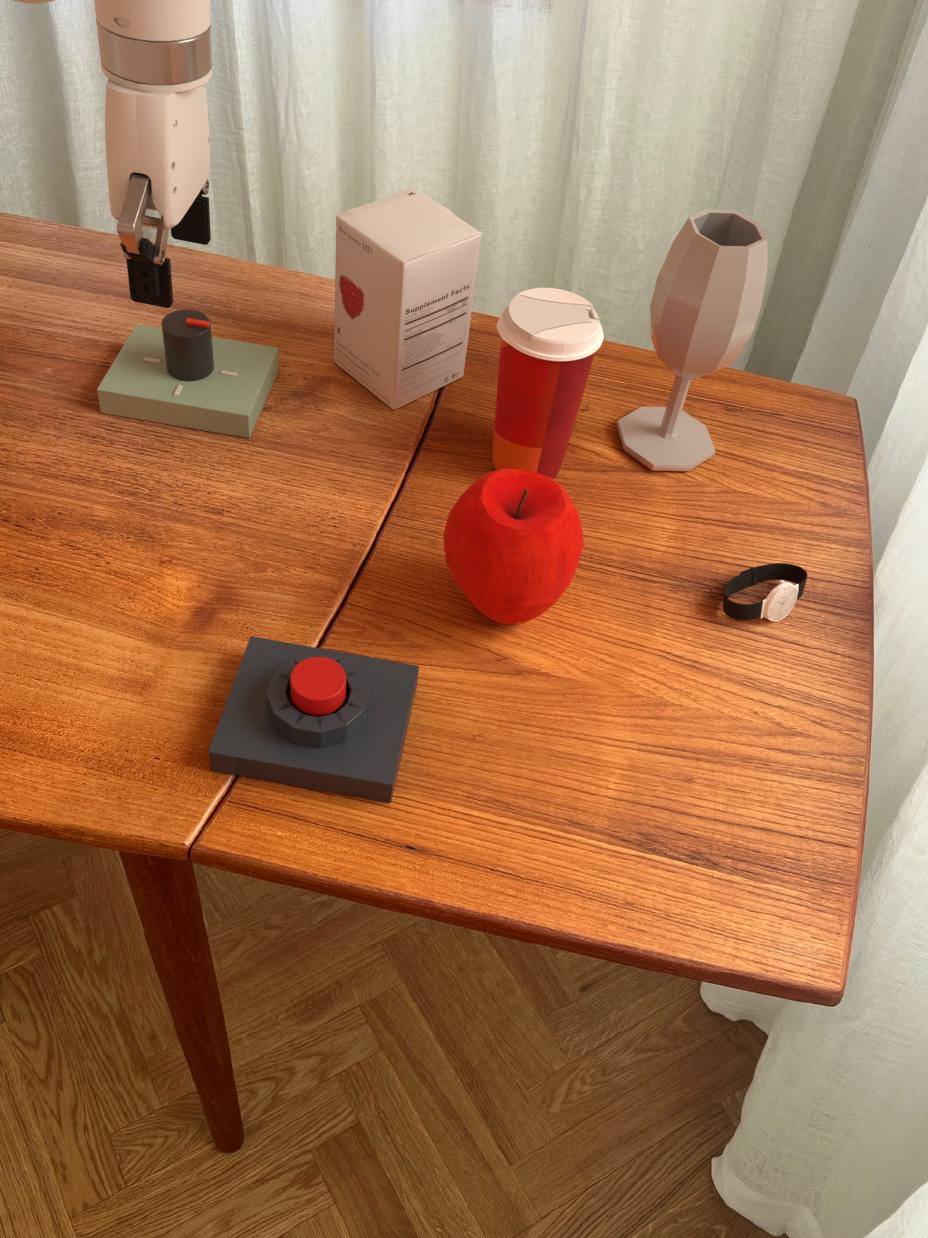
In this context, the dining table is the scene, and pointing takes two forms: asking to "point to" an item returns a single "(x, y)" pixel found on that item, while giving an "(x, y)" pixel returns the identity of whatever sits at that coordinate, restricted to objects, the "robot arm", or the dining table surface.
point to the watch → (777, 599)
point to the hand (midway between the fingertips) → (172, 270)
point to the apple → (513, 544)
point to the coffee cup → (542, 377)
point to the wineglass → (698, 329)
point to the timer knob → (188, 344)
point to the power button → (318, 686)
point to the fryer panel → (190, 385)
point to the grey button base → (316, 723)
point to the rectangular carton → (403, 295)
